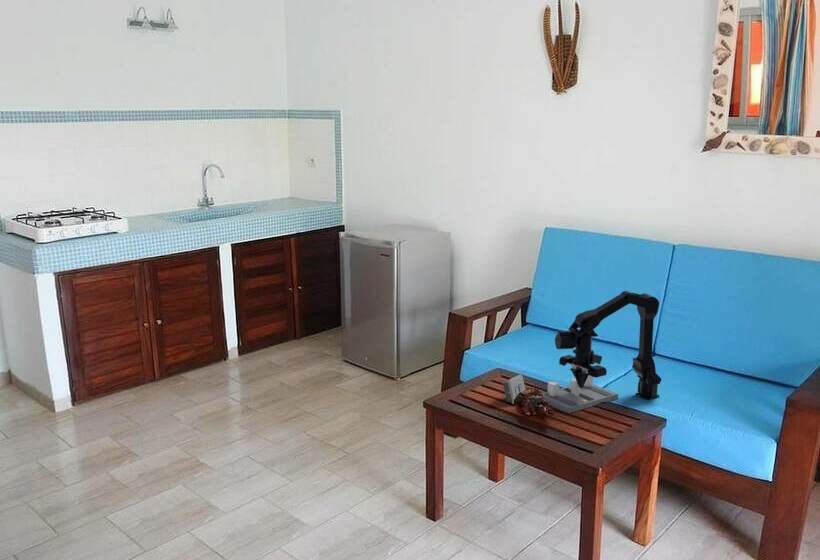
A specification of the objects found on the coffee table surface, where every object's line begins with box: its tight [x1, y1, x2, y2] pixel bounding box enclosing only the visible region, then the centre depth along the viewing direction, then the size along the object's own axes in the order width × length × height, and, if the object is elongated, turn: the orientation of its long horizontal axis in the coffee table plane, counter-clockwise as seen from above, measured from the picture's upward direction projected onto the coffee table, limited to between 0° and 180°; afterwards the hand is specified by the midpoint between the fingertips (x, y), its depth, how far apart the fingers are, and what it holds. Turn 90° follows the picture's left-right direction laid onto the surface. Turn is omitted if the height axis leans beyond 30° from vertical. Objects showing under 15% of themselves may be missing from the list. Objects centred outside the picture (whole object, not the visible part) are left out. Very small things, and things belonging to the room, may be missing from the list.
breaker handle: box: [569, 378, 581, 396], centre depth 270 cm, size 3×3×6 cm
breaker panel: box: [541, 375, 619, 414], centre depth 269 cm, size 16×26×7 cm, turn 123°
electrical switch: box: [502, 374, 526, 405], centre depth 267 cm, size 9×5×9 cm, turn 141°
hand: (581, 387), depth 267 cm, fingers closed
